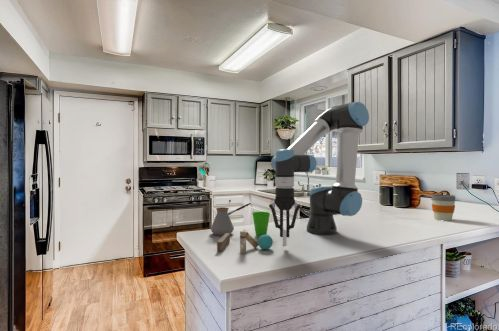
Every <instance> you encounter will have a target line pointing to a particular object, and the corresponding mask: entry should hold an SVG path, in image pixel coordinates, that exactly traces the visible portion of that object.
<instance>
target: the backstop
mask: <svg viewBox="0 0 499 331" xmlns="http://www.w3.org/2000/svg"><path fill="white" fill-rule="evenodd" d="M229 242H230V243H231V233H225V234H224V235H223V236H220V238H219V239H218V240H217V241H216V253H224V250H225V249H226V248H227V247H228V245H230V243H229ZM226 246H227V247H226Z"/></svg>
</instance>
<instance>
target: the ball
mask: <svg viewBox="0 0 499 331" xmlns="http://www.w3.org/2000/svg"><path fill="white" fill-rule="evenodd" d="M257 243H258V246H259V248H261V249H262V250H269V249H271V247H272V246H273V243H274V242H273V238H272V237H271V236H270V235H268V234H267V235H266V234H265V235H262V236H260V237H259V238H258V240H257Z"/></svg>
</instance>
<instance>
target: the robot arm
mask: <svg viewBox="0 0 499 331" xmlns="http://www.w3.org/2000/svg"><path fill="white" fill-rule="evenodd" d="M369 121H370V114H369V110H368V108H367V106H366V105H365V104H364V103H363V102H360V101H354V102H353V101H352V102H350V103H349V102H348V103H344V104H340V105H335V106H331V107H330V108H328V109H326V110H325V111H324V112H322V113H321V114H320V115H318V116H317V117H316V119H314V120H313V123H312V125H311V126H310V127H309V128H308V129H307V130H306V131H304V132H303V133H302V134H301V135H300V136H299V137H297V139H296V140H294V142H292V144H290V146H288V148H286V149H285V148H283V149H277V150H276V151H275V155H274V156H273V157H272V159H271V161H270V165H271V168H272V169H273V170H274V172H275V183H274V184H275V187H276V188H275V191H274V193H275V198H274V200H273V202H271V203H269V205H268V207H269V209H270V210H271V214H272V217H273V221H274V222H273V223H274V226H275V228H277V229H279V236H280V238H282V247H287V245H288V244H287V242H288V240H287V238H290V230H291V229H294V228H295V224H296V220H297V216H298V212H299V210H300V208H301V204H299V203H297V202H296V199H295V188H294V186H295V173H312V172H314V171H315V170H316V168H317V165H318V163H317V162H318V161H317V159H316V156H314V155H312V154H307V152H308V151H309V150H310V149H311V148H312V147H313V146H314V145H315V144H316V143H317V142H318V141H319V140H320V139H321V138H322V137H324V135H328V134H329V133H330V132H332V131H335V130H337V132H338V134H339V141H338V142H339V143H338V152H337V153H338V154H337V166H336V175H335V182H334V184H331V185H332V186H319V187H318V186H317V187H312V188H310V190H309V219H308V221H307V224H306V232H308V233H311V234H315V235H324V236H325V235H335V234H337V231H338V229H337V225H336V222H335V218H334V214H335V215H340V216H343V217H344V216H345V217H346V216H347V217H353V216H356V215H357V214H358V212H360V210H361V208H362V205H363V197H362V194H361V193H360V192H359V190H358V189H359V188H358V187H357V185H356V171H357V162H358V160H357V158H358V148H359V135H360V134H361V133H363V128H364V127H365V126H367V124H368V123H369ZM275 207H277V209H278V210H279V220H278V216H277V212H276V209H275ZM293 207H294V211H293V216H292V219H291V223H290V210H291V209H292V208H293ZM284 211H285V212H286V217H285V220H286V222H285V224H286V227H285V228H284Z"/></svg>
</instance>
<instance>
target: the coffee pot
mask: <svg viewBox="0 0 499 331" xmlns="http://www.w3.org/2000/svg"><path fill="white" fill-rule="evenodd" d="M249 206H253V204H252V203H251V202H249V203H246V204H244V205H241V206H240V207H238V208H236V209H234V210H232V211H230V212H228V211H229V210H230V208H229V207H217V208H215V210H216V215H215V217H214V220H213V223H212V224H211V227H210V230H211V232H212V234H214V236H216V235H224V234H225V233H230V234H232V233H233V232H234V231H235V230H234V225H233V222H232V220H231V218H230V215H232V214H234V213H235V212H238V211H241V210H242V209H244V208H246V207H249Z"/></svg>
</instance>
